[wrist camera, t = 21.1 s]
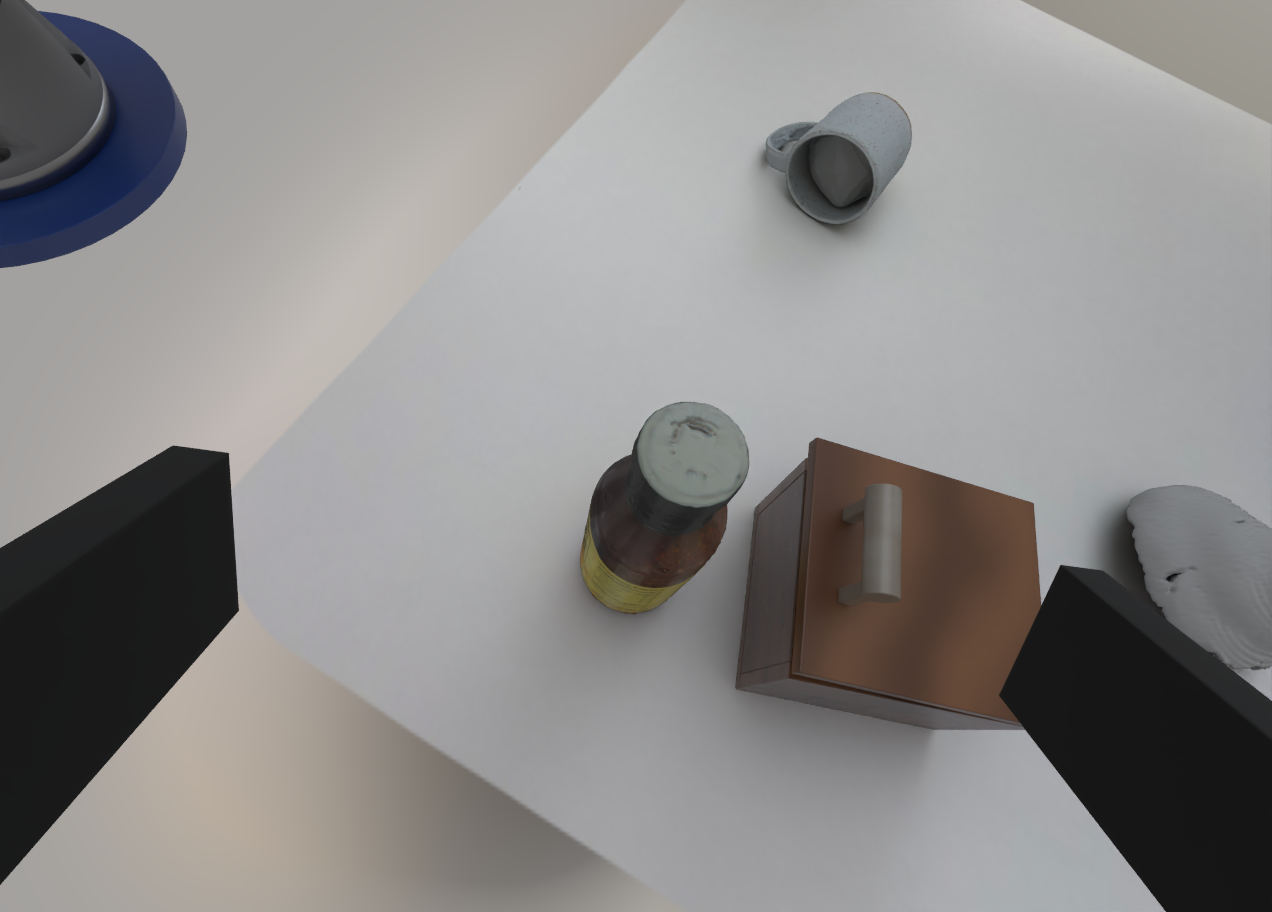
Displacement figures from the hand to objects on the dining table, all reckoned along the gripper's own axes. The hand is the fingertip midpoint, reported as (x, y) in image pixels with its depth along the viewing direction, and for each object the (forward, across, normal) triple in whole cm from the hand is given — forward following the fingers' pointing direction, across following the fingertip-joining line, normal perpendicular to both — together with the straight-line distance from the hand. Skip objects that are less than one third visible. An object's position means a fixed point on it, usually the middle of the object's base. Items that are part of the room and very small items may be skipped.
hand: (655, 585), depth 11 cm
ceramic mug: (+51, +16, +9) cm, 54 cm away
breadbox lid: (+19, +17, -10) cm, 27 cm away
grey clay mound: (+29, +41, -13) cm, 52 cm away
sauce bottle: (+26, +3, -16) cm, 31 cm away
